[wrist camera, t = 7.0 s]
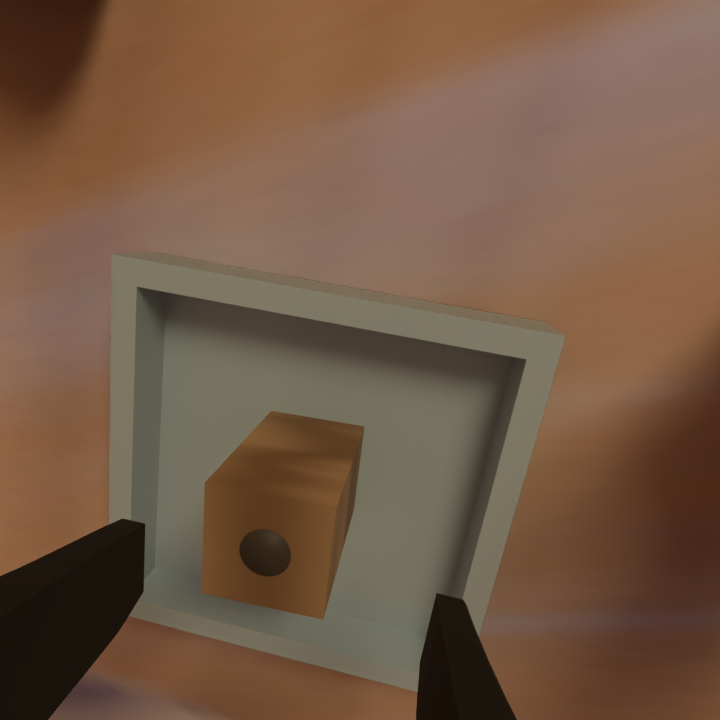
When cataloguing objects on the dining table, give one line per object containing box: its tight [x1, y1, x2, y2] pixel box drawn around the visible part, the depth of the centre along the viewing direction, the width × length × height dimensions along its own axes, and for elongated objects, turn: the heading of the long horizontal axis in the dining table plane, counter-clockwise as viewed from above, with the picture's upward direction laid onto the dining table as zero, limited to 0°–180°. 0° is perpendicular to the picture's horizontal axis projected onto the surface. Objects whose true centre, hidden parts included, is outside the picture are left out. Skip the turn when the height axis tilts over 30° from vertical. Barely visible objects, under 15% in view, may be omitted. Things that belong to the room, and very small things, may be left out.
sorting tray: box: [109, 252, 566, 692], centre depth 19 cm, size 16×16×3 cm
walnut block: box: [202, 411, 365, 620], centre depth 17 cm, size 4×4×6 cm
